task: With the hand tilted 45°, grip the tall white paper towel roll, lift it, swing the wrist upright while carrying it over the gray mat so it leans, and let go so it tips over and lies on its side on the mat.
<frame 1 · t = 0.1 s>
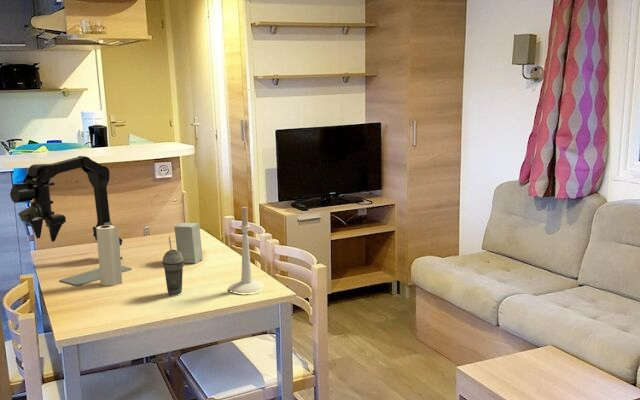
hand: (45, 239, 222), 15 cm above the table, tool pointing down, fingers open, 9 cm apart
candlestick: (246, 289, 210), on the table
skincare box: (189, 262, 244), on the table
gray mat: (96, 275, 227), on the table
beverage cup: (175, 294, 206), on the table
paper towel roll: (110, 284, 217), on the table
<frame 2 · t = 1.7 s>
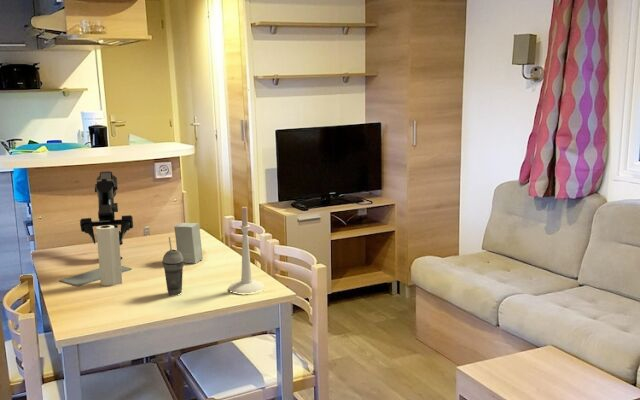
hand: (107, 242, 222), 14 cm above the table, tool tilted 45°, fingers open, 9 cm apart
nothing on the table moved.
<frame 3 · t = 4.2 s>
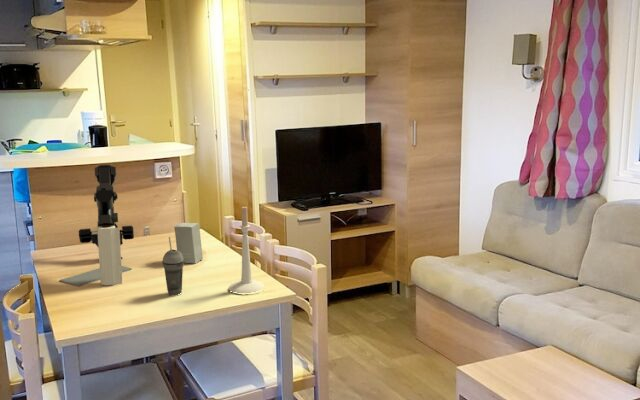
hand: (107, 254, 213), 12 cm above the table, tool tilted 45°, fingers closed on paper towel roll, 3 cm apart
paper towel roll: (110, 284, 217), on the table, touching gripper
everything else where it was.
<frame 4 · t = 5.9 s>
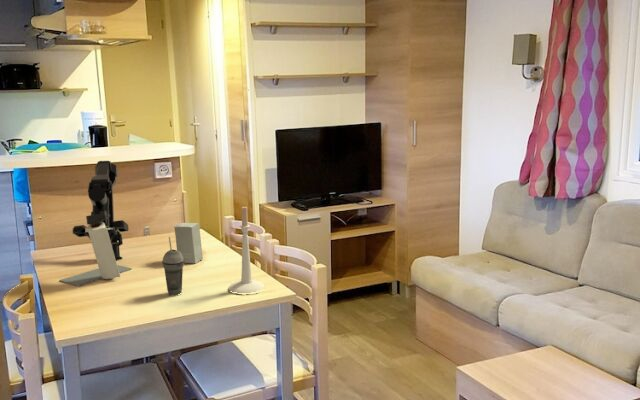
hand: (101, 251, 216), 12 cm above the table, tool tilted 30°, fingers closed on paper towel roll, 3 cm apart
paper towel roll: (110, 276, 223), point 1 cm above the table, touching gripper
everything else where it was.
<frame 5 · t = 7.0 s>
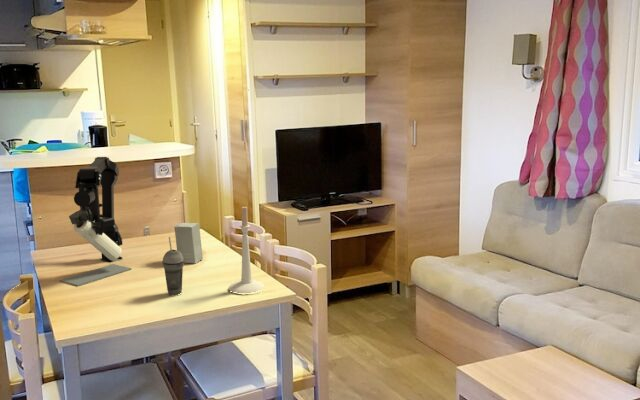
hand: (94, 242, 224), 13 cm above the table, tool pointing down, fingers closed on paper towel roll, 3 cm apart
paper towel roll: (115, 255, 233), point 5 cm above the table, touching gripper
everything else where it was.
when the fingers open (12 cm above the table, at t = 7.6 s): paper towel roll drops 2 cm, resting on gray mat.
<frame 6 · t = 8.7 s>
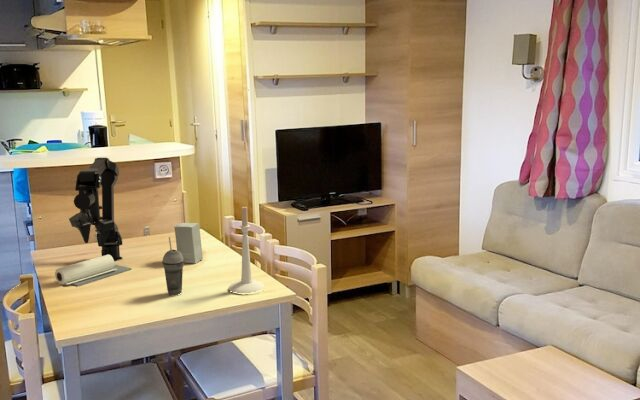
hand: (94, 244, 225), 12 cm above the table, tool pointing down, fingers open, 9 cm apart
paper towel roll: (111, 262, 232), point 3 cm above the table, touching gray mat
everything else where it was.
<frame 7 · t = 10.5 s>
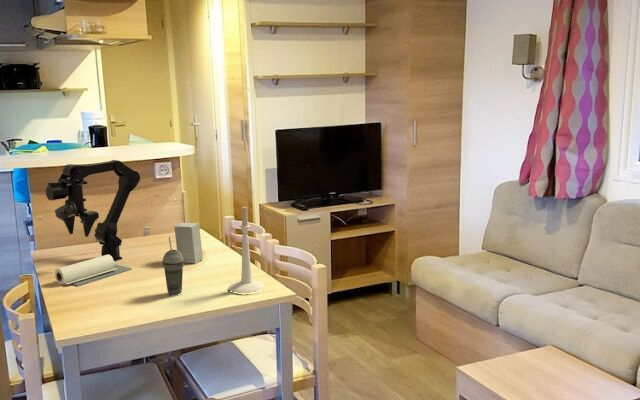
hand: (78, 235, 235), 13 cm above the table, tool pointing down, fingers open, 9 cm apart
nothing on the table moved.
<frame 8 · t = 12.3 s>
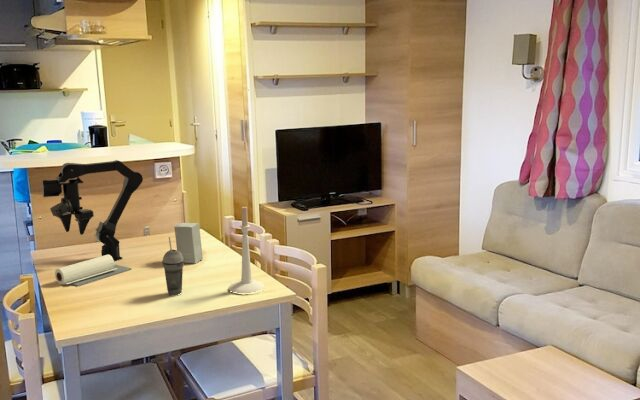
hand: (74, 233, 239), 13 cm above the table, tool pointing down, fingers open, 9 cm apart
nothing on the table moved.
at the end: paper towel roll tilted 91°; the gripper is holding nothing; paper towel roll inside the target area (7.7 cm from its centre), point 3.0 cm above the table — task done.
